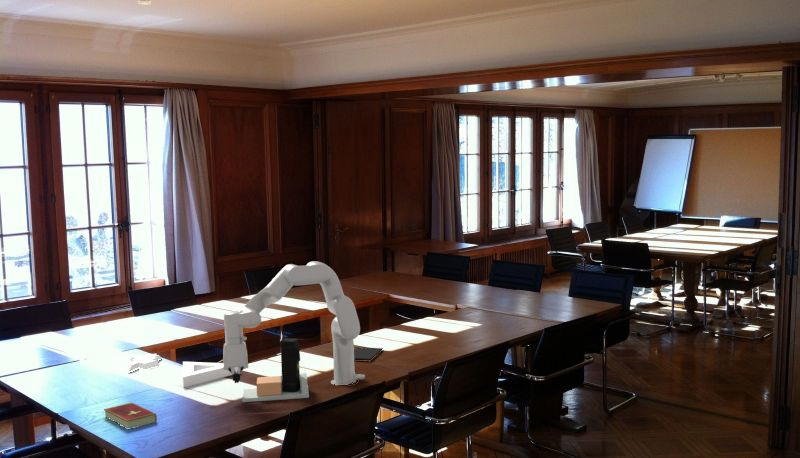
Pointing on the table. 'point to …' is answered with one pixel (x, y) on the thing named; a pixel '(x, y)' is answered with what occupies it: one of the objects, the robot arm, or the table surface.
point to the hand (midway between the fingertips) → (236, 382)
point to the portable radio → (290, 365)
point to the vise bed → (252, 396)
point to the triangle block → (203, 372)
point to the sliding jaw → (269, 385)
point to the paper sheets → (143, 361)
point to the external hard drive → (365, 353)
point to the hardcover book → (130, 415)
